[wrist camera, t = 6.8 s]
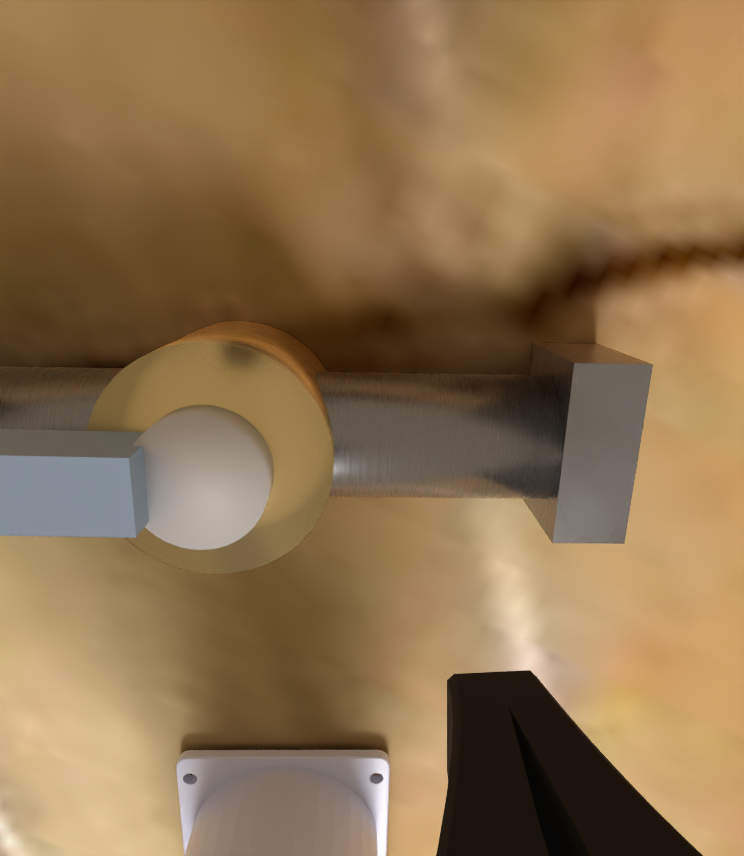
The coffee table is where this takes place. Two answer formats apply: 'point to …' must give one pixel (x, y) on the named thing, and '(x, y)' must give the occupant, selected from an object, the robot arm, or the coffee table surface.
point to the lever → (139, 480)
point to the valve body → (371, 430)
